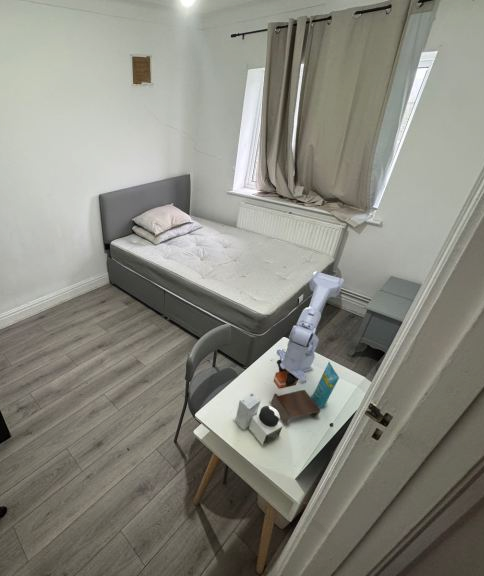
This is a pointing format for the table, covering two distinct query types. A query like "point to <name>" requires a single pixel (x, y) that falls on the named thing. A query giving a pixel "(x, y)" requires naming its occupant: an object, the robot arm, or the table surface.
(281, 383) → the snack box
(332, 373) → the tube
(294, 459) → the table surface
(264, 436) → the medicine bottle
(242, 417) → the cosmetic box
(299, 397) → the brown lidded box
